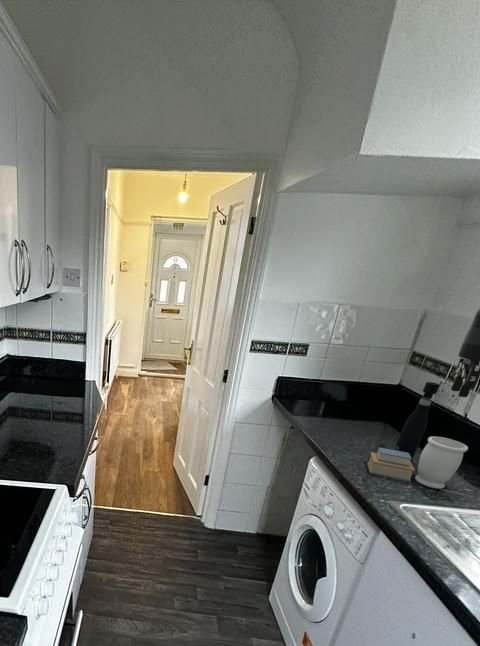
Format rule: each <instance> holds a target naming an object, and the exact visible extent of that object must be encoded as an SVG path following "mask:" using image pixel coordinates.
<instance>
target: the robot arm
mask: <svg viewBox="0 0 480 646" xmlns="http://www.w3.org/2000/svg"><path fill="white" fill-rule="evenodd" d="M458 357H459V358H460V359H458V363H457V365H456V367H455V370H454V373H453V376H454V377H453V378H454V380H453V383H452V385H451V387H450V390H451V391H453V392H458V394H457V395H458V397H460V398H467V397H469V394H470V392H471V389H472V387H473V386H476V385H477V384H478V381H479V378H480V307H479V308H478V309H477V310H476V312H475V314H474V316H473V318H472V320H471V323H470V326H469V328H468V330H467V331H466V333H465V336H464V339H463V341H462V344H461V346H460V349H459V352H458Z"/></svg>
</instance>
